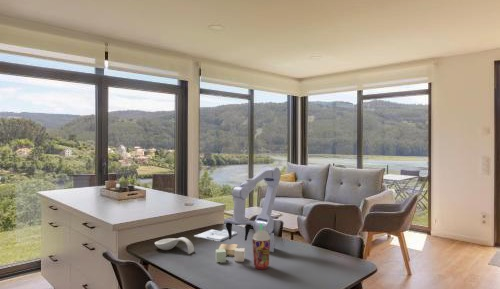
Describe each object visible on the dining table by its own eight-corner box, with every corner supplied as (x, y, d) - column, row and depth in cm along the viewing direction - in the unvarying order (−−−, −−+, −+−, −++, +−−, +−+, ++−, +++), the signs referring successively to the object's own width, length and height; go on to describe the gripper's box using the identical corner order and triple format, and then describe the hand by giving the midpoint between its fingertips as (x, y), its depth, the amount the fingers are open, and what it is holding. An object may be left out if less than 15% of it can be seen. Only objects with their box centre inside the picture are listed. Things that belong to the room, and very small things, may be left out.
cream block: (244, 258, 169) (244, 248, 169) (243, 261, 165) (243, 251, 165) (235, 258, 170) (235, 248, 170) (234, 261, 165) (234, 251, 165)
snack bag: (220, 242, 196) (220, 239, 196) (192, 237, 207) (192, 234, 207) (238, 234, 212) (238, 231, 212) (212, 230, 223) (212, 226, 223)
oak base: (237, 249, 182) (237, 244, 182) (235, 255, 173) (235, 249, 173) (221, 249, 183) (221, 243, 183) (218, 255, 174) (218, 249, 174)
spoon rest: (150, 249, 183) (150, 236, 183) (165, 243, 194) (165, 231, 194) (185, 256, 172) (185, 242, 172) (199, 250, 182) (199, 236, 182)
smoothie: (264, 272, 152) (264, 227, 151) (248, 268, 156) (248, 224, 156) (273, 266, 159) (273, 223, 158) (258, 262, 163) (258, 220, 163)
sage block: (224, 258, 169) (224, 248, 168) (225, 262, 164) (225, 251, 164) (215, 259, 168) (215, 249, 168) (216, 262, 163) (216, 252, 163)
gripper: (223, 211, 165) (221, 240, 165) (252, 213, 163) (251, 242, 162) (226, 209, 172) (224, 236, 172) (254, 211, 170) (253, 239, 169)
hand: (238, 239), depth 167 cm, fingers open, 7 cm apart
